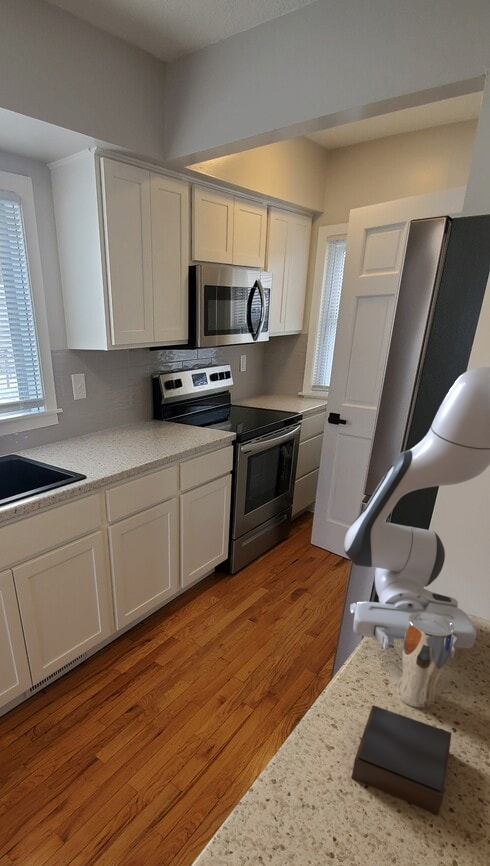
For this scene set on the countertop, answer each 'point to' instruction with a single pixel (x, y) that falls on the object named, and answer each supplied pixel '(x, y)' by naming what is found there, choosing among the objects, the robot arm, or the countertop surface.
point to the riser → (403, 758)
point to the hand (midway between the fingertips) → (419, 651)
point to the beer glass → (424, 657)
